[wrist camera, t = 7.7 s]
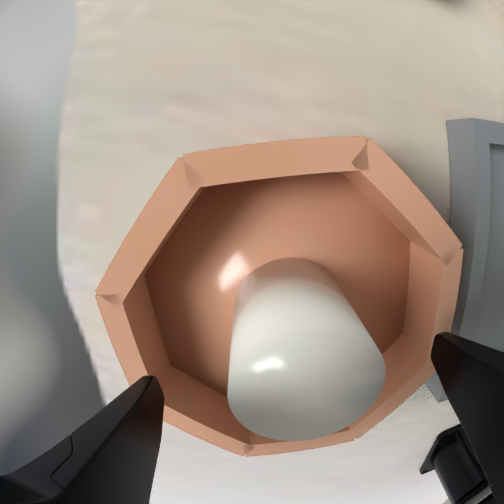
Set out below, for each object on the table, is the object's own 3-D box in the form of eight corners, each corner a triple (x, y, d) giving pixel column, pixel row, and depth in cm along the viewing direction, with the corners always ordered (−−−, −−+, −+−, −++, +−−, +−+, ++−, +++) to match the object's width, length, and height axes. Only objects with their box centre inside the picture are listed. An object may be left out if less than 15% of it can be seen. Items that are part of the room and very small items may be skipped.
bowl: (400, 379, 15) (424, 419, 12) (177, 410, 15) (167, 456, 12) (414, 140, 11) (463, 138, 8) (111, 173, 11) (67, 181, 8)
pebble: (339, 343, 13) (375, 425, 8) (242, 357, 13) (240, 447, 8) (339, 250, 11) (394, 313, 7) (225, 265, 12) (212, 340, 7)
